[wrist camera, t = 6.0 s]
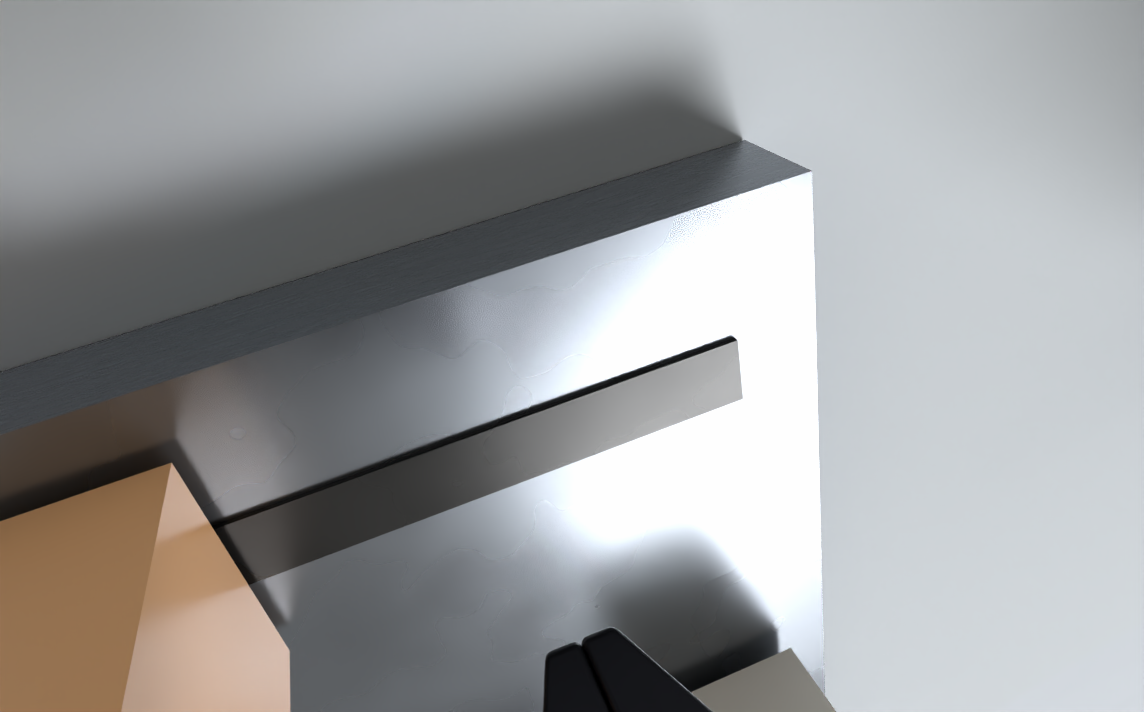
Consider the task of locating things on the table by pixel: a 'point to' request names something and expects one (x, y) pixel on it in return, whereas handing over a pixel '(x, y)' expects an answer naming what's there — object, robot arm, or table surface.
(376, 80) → the table surface
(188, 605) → the slider orange
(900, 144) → the table surface
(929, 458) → the table surface
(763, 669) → the block
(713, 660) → the panel
